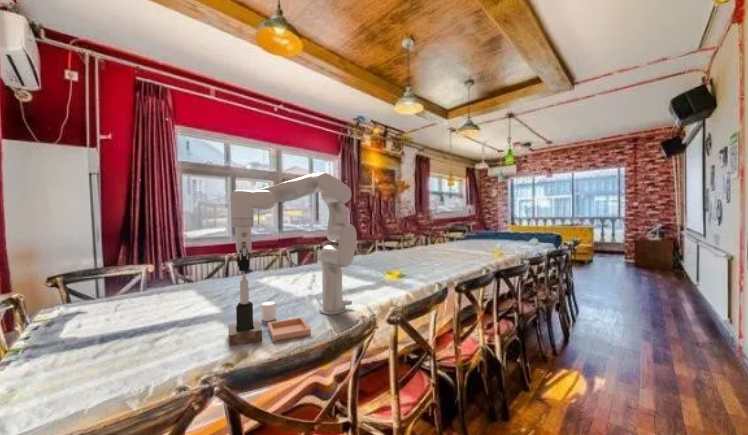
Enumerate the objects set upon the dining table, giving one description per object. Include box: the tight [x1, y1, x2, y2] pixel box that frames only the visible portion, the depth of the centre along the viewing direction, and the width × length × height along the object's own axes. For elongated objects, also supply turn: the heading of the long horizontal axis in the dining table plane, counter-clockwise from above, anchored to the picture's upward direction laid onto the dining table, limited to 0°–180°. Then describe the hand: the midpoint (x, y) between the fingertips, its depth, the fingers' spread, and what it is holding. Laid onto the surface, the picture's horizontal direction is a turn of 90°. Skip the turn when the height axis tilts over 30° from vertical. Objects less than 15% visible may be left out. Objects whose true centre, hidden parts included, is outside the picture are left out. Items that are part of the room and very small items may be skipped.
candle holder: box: [228, 319, 263, 347], centre depth 117 cm, size 11×11×4 cm
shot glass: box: [260, 300, 277, 322], centre depth 138 cm, size 7×7×7 cm
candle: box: [235, 272, 254, 332], centre depth 117 cm, size 5×5×25 cm
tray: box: [267, 316, 312, 343], centre depth 123 cm, size 14×14×2 cm
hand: (242, 268), depth 116 cm, fingers open, 9 cm apart
